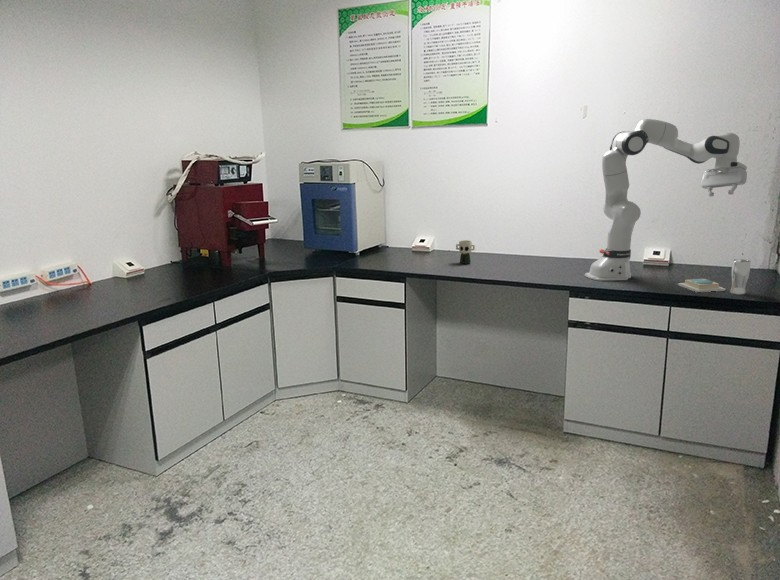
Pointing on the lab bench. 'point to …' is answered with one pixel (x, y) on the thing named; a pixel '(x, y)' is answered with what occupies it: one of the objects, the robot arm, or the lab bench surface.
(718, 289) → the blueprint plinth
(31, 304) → the lab bench surface
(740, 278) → the beer glass
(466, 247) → the character mug
